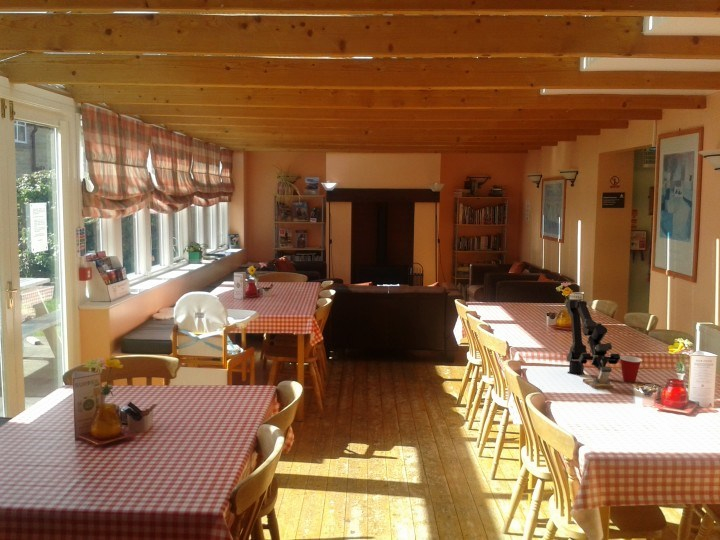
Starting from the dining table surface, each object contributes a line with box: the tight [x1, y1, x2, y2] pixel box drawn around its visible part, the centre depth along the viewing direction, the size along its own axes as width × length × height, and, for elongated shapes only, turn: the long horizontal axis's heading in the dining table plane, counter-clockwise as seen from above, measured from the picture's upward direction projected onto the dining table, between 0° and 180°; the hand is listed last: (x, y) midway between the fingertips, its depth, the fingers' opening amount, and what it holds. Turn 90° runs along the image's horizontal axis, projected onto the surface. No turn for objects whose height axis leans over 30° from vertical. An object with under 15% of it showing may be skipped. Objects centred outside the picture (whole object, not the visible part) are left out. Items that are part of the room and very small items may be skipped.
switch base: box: [582, 377, 614, 390], centre depth 350 cm, size 16×9×4 cm, turn 4°
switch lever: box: [597, 366, 613, 384], centre depth 343 cm, size 2×5×10 cm, turn 93°
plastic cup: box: [619, 355, 643, 383], centre depth 361 cm, size 11×11×12 cm
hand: (603, 373), depth 343 cm, fingers closed, pressing on switch lever
